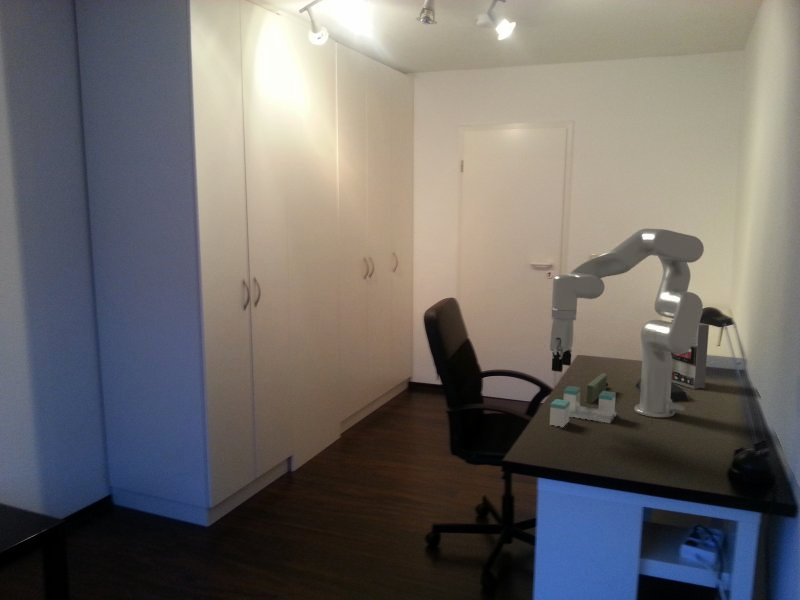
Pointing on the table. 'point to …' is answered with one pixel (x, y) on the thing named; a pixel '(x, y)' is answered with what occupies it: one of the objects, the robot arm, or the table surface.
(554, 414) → the block
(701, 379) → the grey printed box
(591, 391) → the handheld radio
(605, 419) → the rail plate
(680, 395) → the external hard drive
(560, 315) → the robot arm
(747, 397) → the table surface
